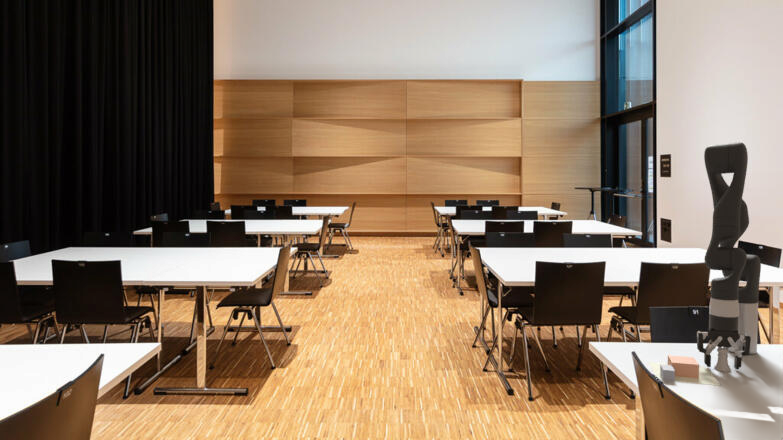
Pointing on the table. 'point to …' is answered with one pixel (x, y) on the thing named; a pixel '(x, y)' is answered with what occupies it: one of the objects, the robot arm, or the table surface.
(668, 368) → the slate brick
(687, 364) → the terracotta brick
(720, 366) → the rook chess piece
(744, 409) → the table surface
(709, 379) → the plate
